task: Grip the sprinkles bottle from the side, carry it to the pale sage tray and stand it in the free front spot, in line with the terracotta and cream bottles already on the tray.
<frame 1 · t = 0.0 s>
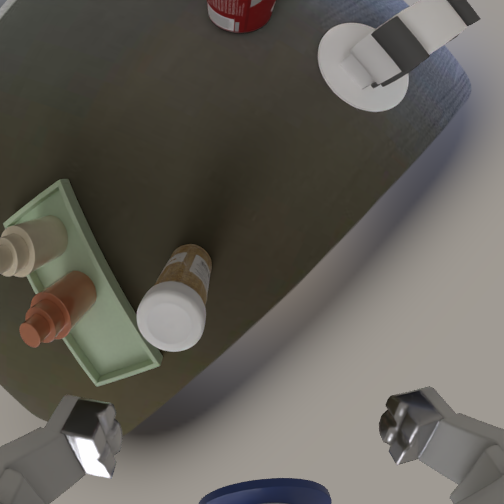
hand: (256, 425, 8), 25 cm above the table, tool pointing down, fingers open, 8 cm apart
terracotta bottle: (78, 291, 31), resting on tray
soda can: (239, 12, 25), on the table
panda figurine: (362, 67, 28), on the table
cream bottle: (50, 236, 29), resting on tray
sprinkles bottle: (191, 264, 32), on the table
tray: (79, 289, 31), on the table
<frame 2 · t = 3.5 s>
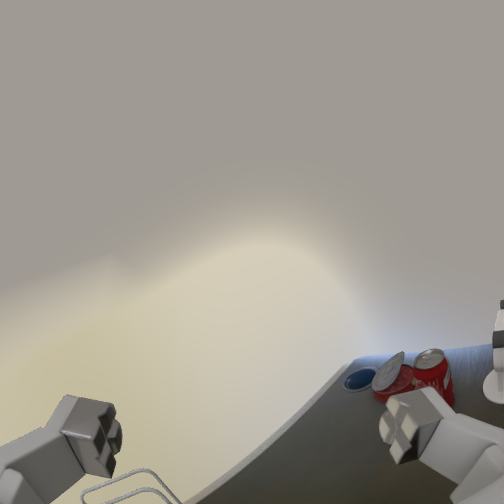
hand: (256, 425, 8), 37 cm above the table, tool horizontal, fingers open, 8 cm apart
soda can: (438, 408, 43), on the table
canned food: (395, 389, 56), on the table
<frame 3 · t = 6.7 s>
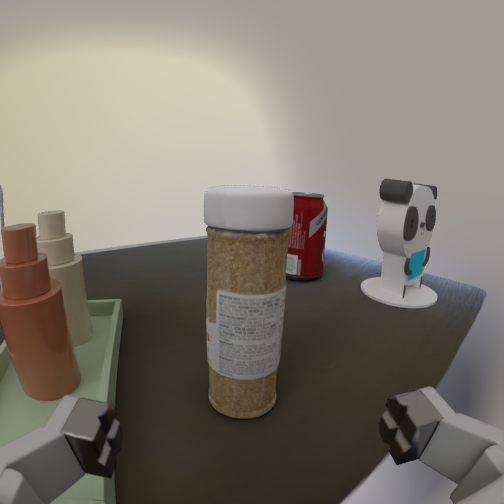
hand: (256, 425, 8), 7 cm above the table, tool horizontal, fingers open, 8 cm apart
terracotta bottle: (50, 380, 17), resting on tray
soda can: (298, 276, 45), on the table
panda figurine: (398, 294, 39), on the table
cream bottle: (68, 334, 23), resting on tray
sprinkles bottle: (242, 401, 19), on the table
tray: (52, 385, 17), on the table
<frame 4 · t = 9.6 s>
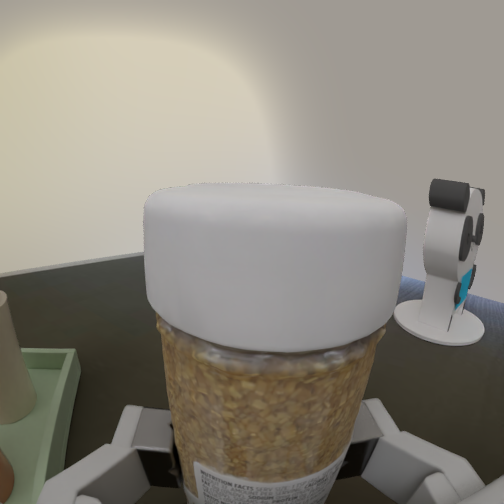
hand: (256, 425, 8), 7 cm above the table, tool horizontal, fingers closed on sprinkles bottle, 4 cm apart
panda figurine: (438, 323, 29), on the table
cream bottle: (6, 400, 13), resting on tray
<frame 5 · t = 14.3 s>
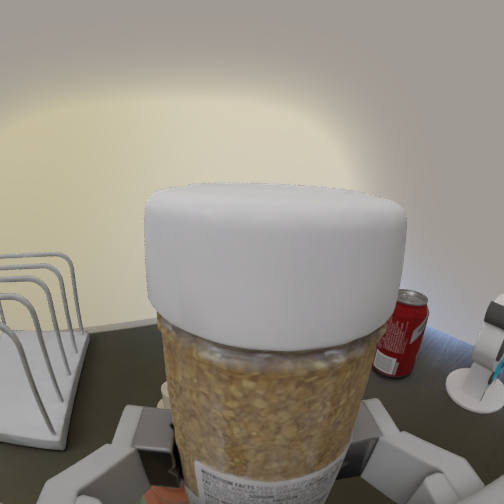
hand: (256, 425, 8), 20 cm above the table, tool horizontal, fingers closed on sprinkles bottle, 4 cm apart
soda can: (390, 369, 41), on the table
file sorter: (26, 383, 31), on the table
panda figurine: (475, 391, 32), on the table
when the fingers open (8 cm above the table, at t = 19.0 s): sprinkles bottle stays where it is, resting on tray.
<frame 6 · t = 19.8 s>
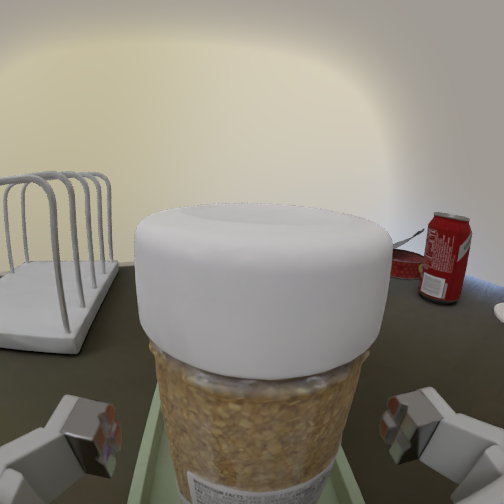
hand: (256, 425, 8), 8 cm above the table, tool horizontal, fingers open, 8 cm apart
soda can: (437, 299, 38), on the table
file sorter: (43, 302, 31), on the table
canned food: (397, 271, 51), on the table
tray: (238, 441, 15), on the table
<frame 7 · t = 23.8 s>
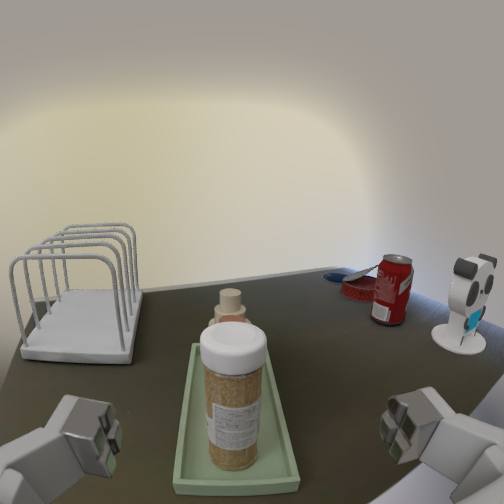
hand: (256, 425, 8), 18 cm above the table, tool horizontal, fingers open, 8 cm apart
soda can: (386, 320, 53), on the table
file sorter: (90, 325, 46), on the table
canned food: (361, 294, 66), on the table
panda figurine: (457, 340, 43), on the table
cream bottle: (229, 371, 37), resting on tray
sprinkles bottle: (233, 456, 24), resting on tray
tray: (231, 410, 30), on the table
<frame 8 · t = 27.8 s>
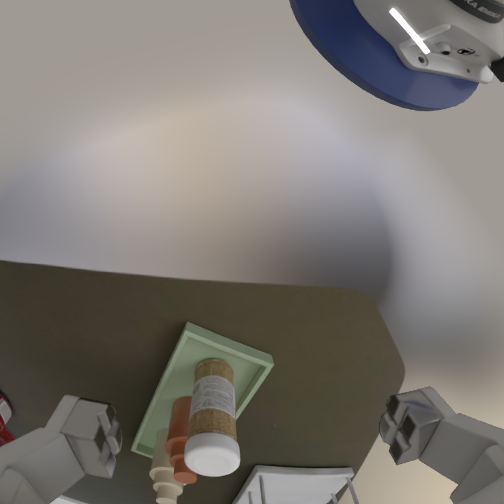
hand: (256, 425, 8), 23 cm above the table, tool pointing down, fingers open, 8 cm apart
terracotta bottle: (191, 410, 34), resting on tray
soda can: (0, 399, 33), on the table
file sorter: (279, 499, 43), on the table
canned food: (3, 435, 36), on the table
cream bottle: (174, 439, 35), resting on tray
sprinkles bottle: (214, 371, 33), resting on tray
tray: (192, 407, 35), on the table
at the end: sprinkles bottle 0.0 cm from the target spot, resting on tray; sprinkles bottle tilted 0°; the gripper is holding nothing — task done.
